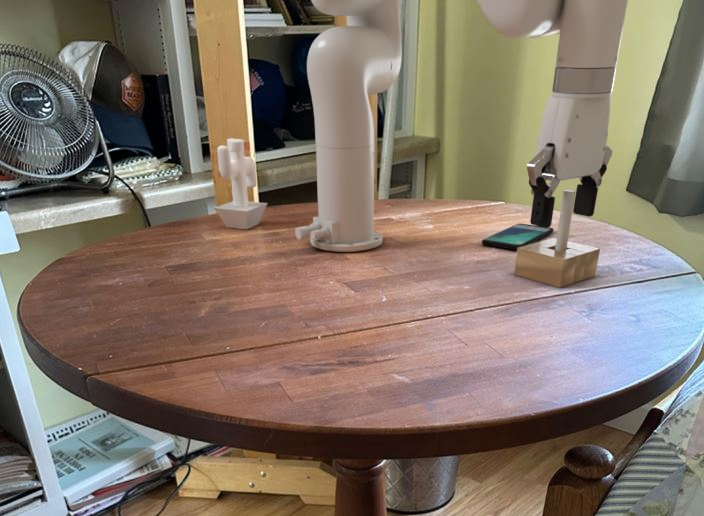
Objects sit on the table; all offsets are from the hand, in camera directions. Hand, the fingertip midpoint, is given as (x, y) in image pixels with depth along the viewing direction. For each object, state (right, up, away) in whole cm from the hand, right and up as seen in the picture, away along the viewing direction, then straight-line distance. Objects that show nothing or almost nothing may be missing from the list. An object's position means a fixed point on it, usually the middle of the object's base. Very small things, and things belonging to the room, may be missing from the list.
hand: (562, 220), depth 100 cm
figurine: (-51, +11, +33) cm, 62 cm away
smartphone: (-1, +5, +22) cm, 22 cm away
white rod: (0, -7, +4) cm, 8 cm away
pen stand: (0, -7, +4) cm, 8 cm away
